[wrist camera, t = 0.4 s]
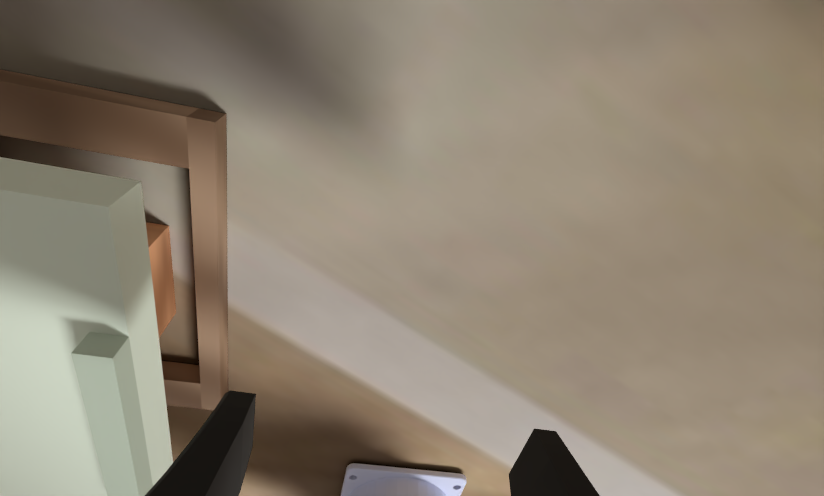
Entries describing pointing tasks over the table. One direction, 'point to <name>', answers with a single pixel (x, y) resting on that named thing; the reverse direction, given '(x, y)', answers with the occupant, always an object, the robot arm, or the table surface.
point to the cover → (77, 337)
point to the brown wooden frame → (160, 143)
